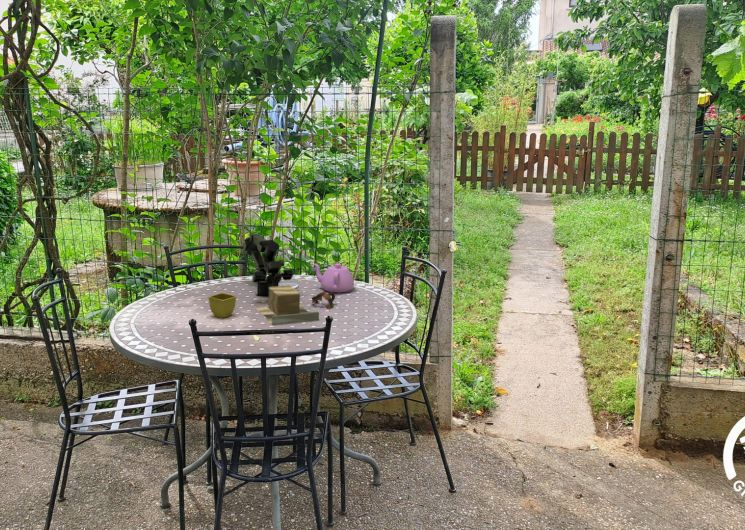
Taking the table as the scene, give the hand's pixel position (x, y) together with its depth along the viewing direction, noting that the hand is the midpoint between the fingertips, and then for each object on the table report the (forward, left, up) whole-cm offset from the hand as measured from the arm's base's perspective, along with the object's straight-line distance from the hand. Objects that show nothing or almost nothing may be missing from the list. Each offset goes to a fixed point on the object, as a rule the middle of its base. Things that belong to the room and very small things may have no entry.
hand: (276, 291), depth 304 cm
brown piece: (+20, +10, -7) cm, 24 cm away
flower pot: (-14, -24, -7) cm, 29 cm away
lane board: (+10, -10, -7) cm, 16 cm away
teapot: (+12, +39, -7) cm, 41 cm away
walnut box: (+8, -8, -7) cm, 13 cm away
